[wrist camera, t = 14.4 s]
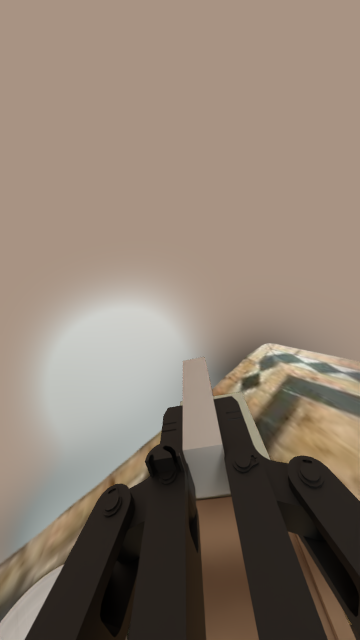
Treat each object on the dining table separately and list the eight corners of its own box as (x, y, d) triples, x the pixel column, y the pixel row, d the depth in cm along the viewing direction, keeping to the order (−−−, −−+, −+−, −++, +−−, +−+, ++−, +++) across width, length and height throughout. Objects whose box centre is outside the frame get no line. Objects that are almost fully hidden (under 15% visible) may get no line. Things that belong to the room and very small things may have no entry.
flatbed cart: (417, 778, 11) (432, 749, 10) (161, 781, 12) (140, 756, 11) (293, 500, 24) (291, 469, 22) (172, 514, 25) (163, 485, 23)
